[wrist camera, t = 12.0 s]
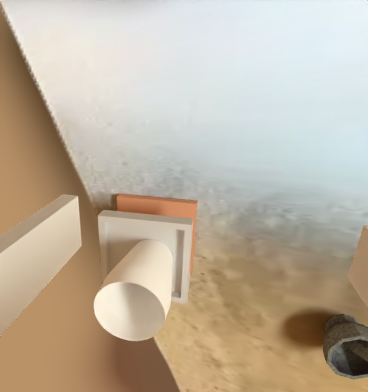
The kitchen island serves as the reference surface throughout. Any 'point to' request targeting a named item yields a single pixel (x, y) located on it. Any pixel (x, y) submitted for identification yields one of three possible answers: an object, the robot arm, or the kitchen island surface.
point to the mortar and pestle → (346, 346)
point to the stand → (150, 234)
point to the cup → (137, 292)
